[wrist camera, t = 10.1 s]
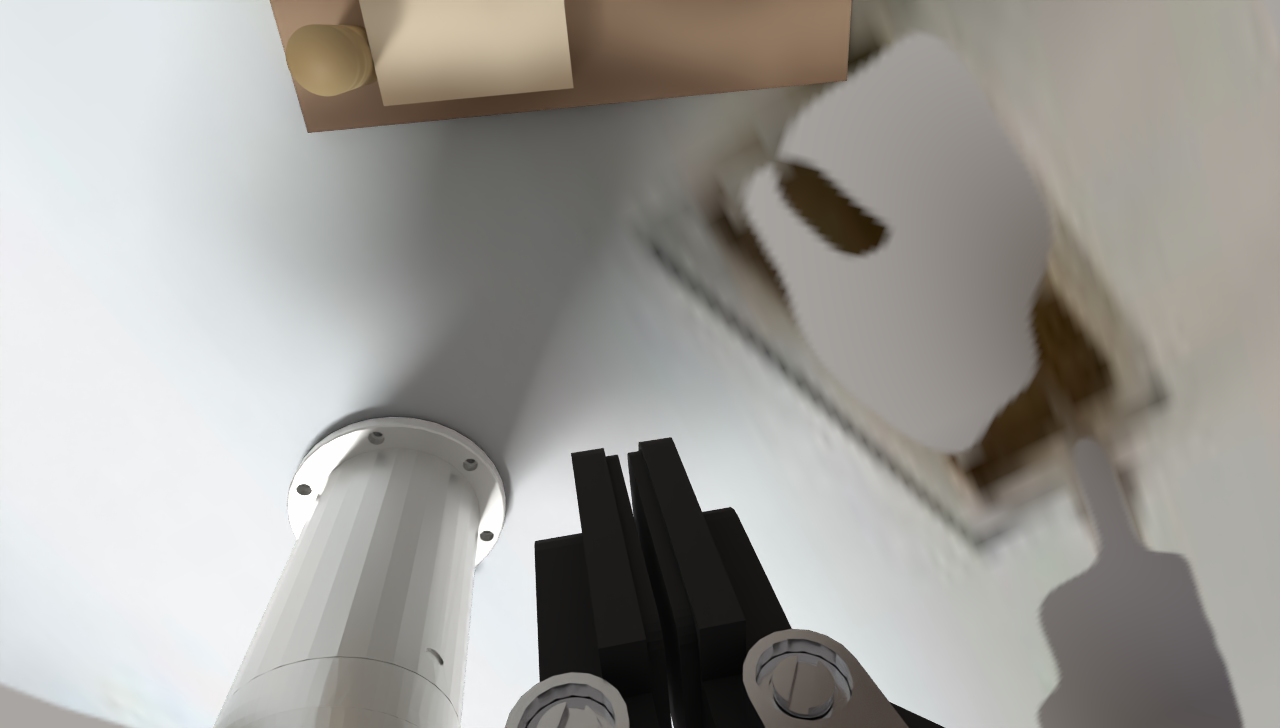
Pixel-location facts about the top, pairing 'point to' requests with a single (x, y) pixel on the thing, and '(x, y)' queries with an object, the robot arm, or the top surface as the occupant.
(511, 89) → the cream rectangular slab
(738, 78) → the board
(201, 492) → the top surface
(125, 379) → the top surface
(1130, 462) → the top surface
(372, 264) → the top surface
